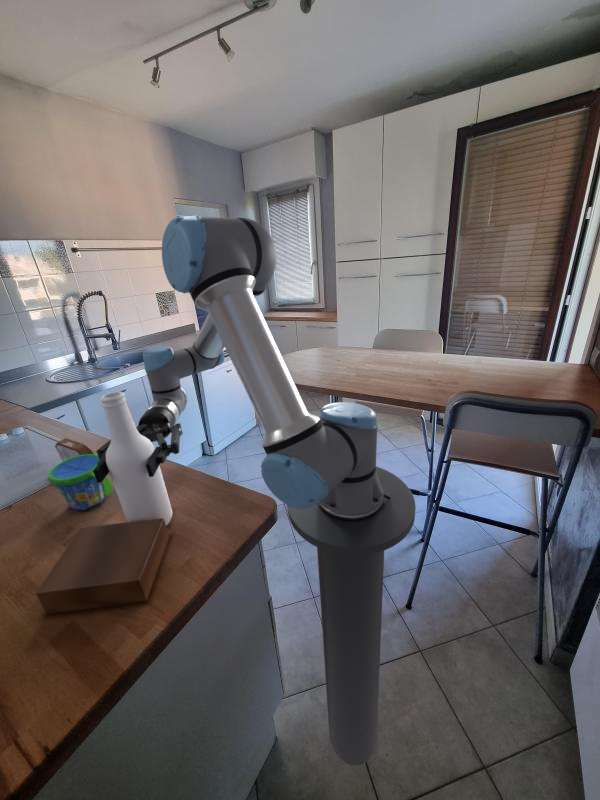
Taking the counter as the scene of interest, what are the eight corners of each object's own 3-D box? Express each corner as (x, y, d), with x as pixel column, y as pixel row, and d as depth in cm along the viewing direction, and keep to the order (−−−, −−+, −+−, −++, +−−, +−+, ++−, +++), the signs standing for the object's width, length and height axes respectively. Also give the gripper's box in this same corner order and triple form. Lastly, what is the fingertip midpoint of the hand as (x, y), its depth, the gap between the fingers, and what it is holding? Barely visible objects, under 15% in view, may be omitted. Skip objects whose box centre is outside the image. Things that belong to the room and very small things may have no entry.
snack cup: (130, 494, 82) (119, 459, 78) (91, 524, 73) (76, 486, 69) (88, 482, 88) (75, 449, 84) (47, 508, 79) (30, 472, 75)
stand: (169, 536, 68) (163, 517, 66) (146, 601, 55) (139, 580, 53) (88, 546, 67) (80, 527, 65) (46, 614, 54) (35, 593, 52)
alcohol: (143, 544, 67) (97, 408, 55) (122, 526, 72) (75, 399, 60) (181, 517, 73) (147, 391, 61) (159, 503, 78) (123, 383, 66)
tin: (102, 470, 92) (92, 444, 89) (91, 477, 90) (81, 450, 87) (71, 459, 99) (61, 434, 96) (60, 465, 97) (49, 440, 93)
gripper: (206, 428, 85) (186, 483, 64) (119, 437, 83) (70, 496, 63) (200, 401, 82) (177, 450, 61) (110, 410, 80) (56, 463, 60)
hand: (123, 473), depth 62 cm, fingers closed on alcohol, 9 cm apart
